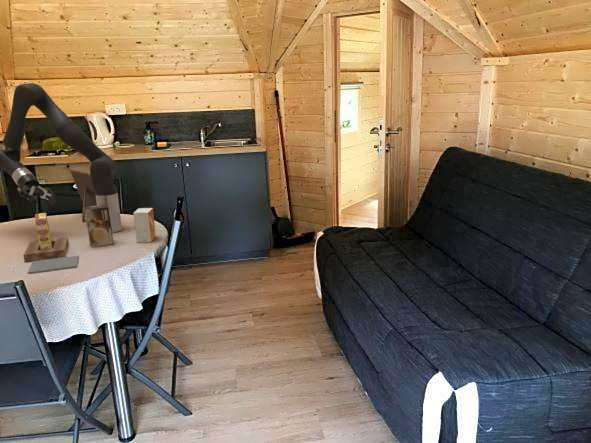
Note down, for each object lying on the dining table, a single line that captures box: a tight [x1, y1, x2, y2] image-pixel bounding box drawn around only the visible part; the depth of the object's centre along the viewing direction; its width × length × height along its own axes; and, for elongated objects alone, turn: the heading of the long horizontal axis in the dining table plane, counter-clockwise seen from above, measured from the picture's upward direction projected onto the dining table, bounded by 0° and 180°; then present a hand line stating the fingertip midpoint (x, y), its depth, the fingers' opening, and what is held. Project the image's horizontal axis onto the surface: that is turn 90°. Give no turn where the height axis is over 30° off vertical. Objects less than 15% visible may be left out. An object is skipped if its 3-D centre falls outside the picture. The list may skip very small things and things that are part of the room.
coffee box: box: [84, 204, 115, 248], centre depth 198 cm, size 9×6×16 cm
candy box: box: [34, 212, 52, 250], centre depth 189 cm, size 9×4×15 cm, turn 28°
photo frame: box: [69, 165, 97, 223], centre depth 239 cm, size 15×22×25 cm
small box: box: [132, 207, 157, 243], centre depth 203 cm, size 8×6×13 cm
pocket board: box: [23, 236, 70, 263], centre depth 191 cm, size 14×18×3 cm
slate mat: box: [27, 255, 80, 275], centre depth 177 cm, size 16×12×1 cm
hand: (45, 203), depth 202 cm, fingers open, 8 cm apart
